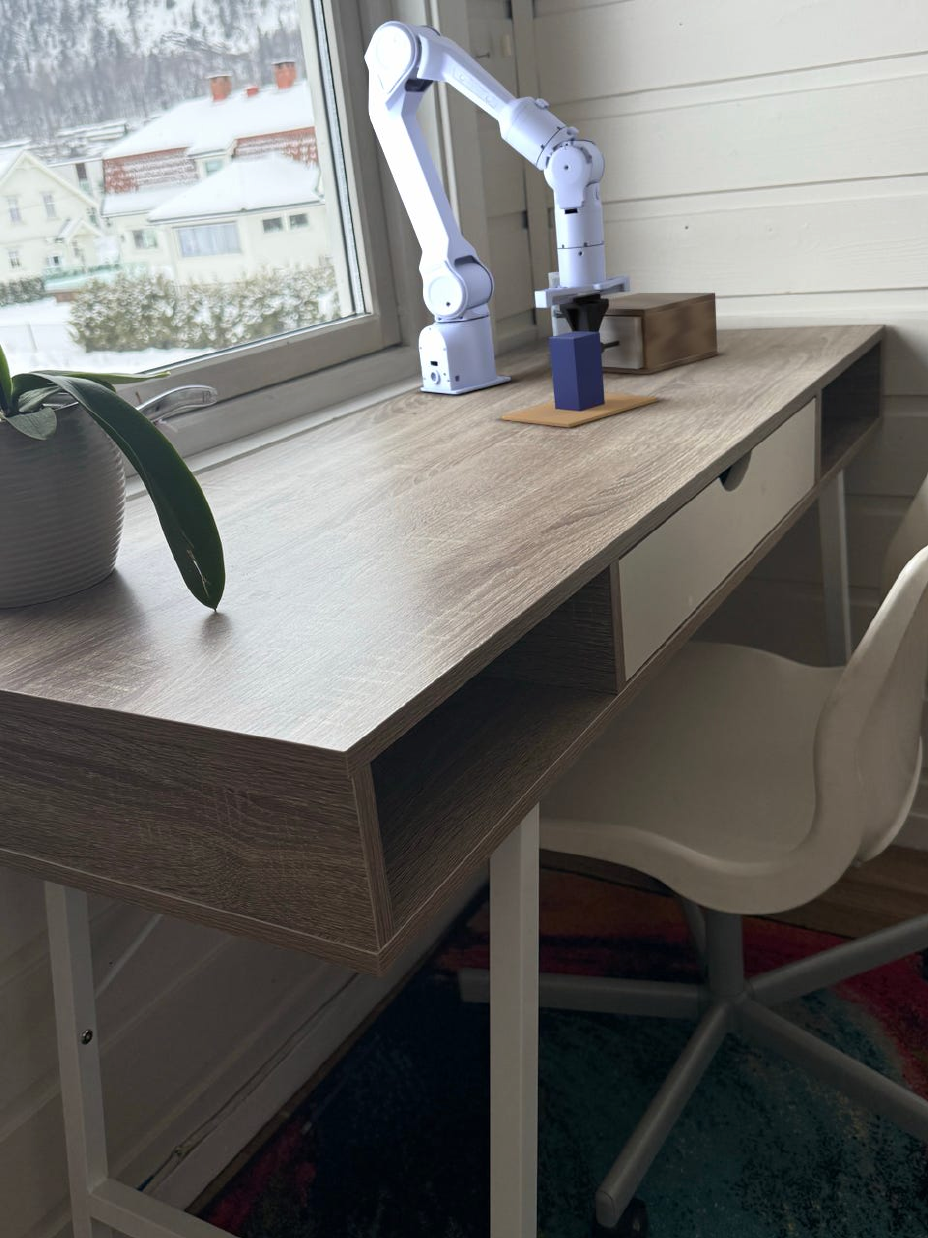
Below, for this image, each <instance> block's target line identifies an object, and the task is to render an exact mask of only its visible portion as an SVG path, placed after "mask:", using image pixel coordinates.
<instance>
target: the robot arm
mask: <svg viewBox="0 0 928 1238" xmlns="http://www.w3.org/2000/svg"><path fill="white" fill-rule="evenodd" d="M364 60H365V63H366V66H367V68H368V72H369V73H368V74H369V75H368V77H369V79H368V81H369V82H368V113H369V117H370V121H371V123H372V125H373V129H374V131H375V133H376V134H375V135H376V136H377V139H378V141H379V144H380V146H381V148H382V151H383V154H384V156H385V159H386V161H387V164H388V167H389V169H390V171H391V172H390V173H391V174H392V177H393V179H394V182H395V184H396V186H397V189H398V192H399V195H400V197H401V200H402V202H403V204H404V207H405V209H406V212H407V215H408V217H409V219H410V222H411V224H412V227H413V230H414V232H415V235H416V237H417V240H418V243H419V245H420V247H421V250H422V254H421V259H420V263H419V267H418V269H419V273H420V274H421V278H422V282H423V290H422V291H423V292H422V293H423V295H422V296H423V301H424V303H425V305H426V307H427V309H428V310H429V311H430V313H431V314H433V315H434V321H435V322H434V323H433V324H430V325H427V326H426V327H424V328H423V329H422V330H421V331H420V334H419V337H418V351H419V358H420V368H421V374H422V381H423V382H422V383H423V386H421V387H420V391H421V392H429V393H437V394H438V393H440V394H448V395H461V394H464V393H469V392H472V391H476V390H480V389H484V388H487V387H491V386H496V385H499V384H503V383H506V382H511V381H512V379H511V377H510V376H501V375H500V376H499V375H497V371H496V361H495V351H494V341H493V333H492V323H491V315H490V313H491V312H490V309H489V306H488V304H489V302H490V301H491V300H492V298H493V295H494V291H495V281H494V277H493V274H492V272H491V271H490V270H489V268H488V267H487V266H486V265H485V264H484V263H483V262H482V261H481V259H480V258H479V256H478V254H477V251H476V249H475V247H474V246H472V244H471V243H469V242H468V240H466V239H465V238H464V236H463V235H462V233H461V230H460V228H459V225H458V223H457V220H456V217H455V215H454V213H453V210H452V207H451V204H450V201H449V199H448V197H447V193H446V191H445V189H444V187H443V184H442V181H441V179H440V176H439V173H438V171H437V169H436V166H435V163H434V161H433V158H432V155H431V153H430V151H429V148H428V145H427V143H426V140H425V137H424V135H423V132H422V129H421V127H420V125H419V122H418V119H417V116H416V114H417V112H418V109H419V108H420V107H419V106H420V104H421V102H422V100H423V97H424V95H425V94H426V93H427V91H428V90H429V89H430V88H431V87H432V86H433V84H434V83H435V82H436V81H437V82H444V83H448V84H450V85H451V86H452V87H453V88H454V89H456V90H457V91H459V92H460V93H461V94H462V95H464V96H465V97H466V98H468V99H469V100H470V101H472V102H473V103H474V104H475V105H477V106H479V107H480V108H481V109H482V110H483V111H485V112H486V113H488V115H490V116H491V117H492V118H494V119H495V120H496V121H498V125H499V130H500V131H499V132H500V136H501V139H502V140H504V141H505V142H506V143H507V144H509V145H510V146H511V147H512V148H513V149H514V150H515V151H517V152H518V153H519V154H520V155H522V156H523V157H524V158H525V159H526V160H528V161H529V162H530V163H531V164H532V165H533V166H535V167H536V168H537V169H538V170H539V171H542V172H543V175H544V179H545V181H546V182H547V184H548V186H549V187H550V188H551V189H552V190H553V200H554V220H555V233H556V234H555V235H556V248H557V249H556V250H557V260H558V272H559V276H560V285H559V286H555V287H552V288H550V287H548V288H545V289H541V290H535V291H534V300H535V308H536V309H537V308H538V309H540V308H541V309H548V308H551V307H552V306H554V305H559V309H560V311H561V313H562V314H563V316H564V317H565V319H566V320H567V322H568V324H569V326H570V328H571V330H572V332H574V331H581V332H599V329H600V326H601V323H602V320H603V318H604V315H605V313H606V311H607V309H608V307H609V300H610V299H609V298H606V297H605V298H604V297H603V296H608V295H613V294H618V293H628V292H631V278H630V275H615V276H609V277H607V270H606V255H605V254H606V252H605V235H604V233H605V232H604V218H603V216H604V215H603V205H602V196H601V183H600V182H601V180H602V179H603V176H604V173H605V170H606V160H605V157H604V154H603V152H602V150H601V149H600V148H599V146H597V144H596V142H595V141H594V140H592V139H589V138H578V135H579V133H580V131H579V130H578V129H577V128H576V127H575V126H572V125H571V126H569V127H568V126H567V125H566V124H565V123H564V122H563V121H561V120H560V119H559V118H558V117H556V116H555V115H554V114H553V113H551V112H550V111H549V110H548V109H549V108H550V104H549V103H548V102H547V101H546V100H545V99H543V98H537V99H535V98H533V97H532V96H524V97H520V98H517V97H515V95H513V94H512V93H511V92H510V91H509V90H508V89H506V88H505V87H504V86H503V85H502V84H501V83H500V82H499V81H498V80H497V79H496V78H495V77H493V75H491V73H489V72H488V71H487V70H486V69H485V68H483V67H482V65H481V64H480V63H478V62H477V61H476V60H475V59H474V58H473V57H472V56H470V54H468V53H467V52H466V51H465V50H464V49H463V48H462V47H461V46H459V44H458V43H456V42H455V41H454V40H453V39H451V38H449V37H447V36H444V35H442V33H441V32H440V31H439V30H438V29H437V28H435V27H433V26H431V25H428V24H427V25H423V24H422V25H421V24H420V25H417V24H409V23H404V22H402V21H399V20H389V21H386V22H384V23H382V24H381V25H380V26H379V27H378V28H377V29H376V30H375V32H374V33H373V35H372V38H371V41H370V43H369V45H368V47H367V50H366V52H365V54H364ZM584 292H586V294H585V295H580V296H577V295H578V293H584ZM568 297H570V298H568ZM602 297H603V298H602Z"/></svg>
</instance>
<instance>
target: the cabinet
mask: <svg viewBox="0 0 928 1238" xmlns="http://www.w3.org/2000/svg"><path fill="white" fill-rule="evenodd" d="M716 303H717V302H716V292H637V293H633V294H632V293H631V294H628V295H623V296H619V297H614V298H610V299H609V307H608V309H607V311H606V313H605V315H631V316H640V317H641V324H642V341H643V358H644V367H643V368H639V369H633V368H617V367H602V370H603V372H605V373H606V372H609V373H621V374H623V373H624V374H638V375H651V374H654V373H658V372H661V371H665V370H668V369H673V368H677V367H680V366H682V365H683V366H684V365H687V364H690V363H694V362H698V361H701V360H704V359H708V358H711V357H716V356H718V335H717V334H718V333H717V332H718V330H717V304H716Z"/></svg>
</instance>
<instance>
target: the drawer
mask: <svg viewBox="0 0 928 1238" xmlns="http://www.w3.org/2000/svg"><path fill="white" fill-rule="evenodd" d="M566 323H567V333H570V332H572V330H571V328H570V326H569V324H568V322H567V320H566ZM599 332H600V342H601V356H602V367H617V368H633V369H639V368H643V367H644V358H643V341H642V324H641V317H640V316H631V315H604V318H603V320H602V323H601V326H600V329H599Z"/></svg>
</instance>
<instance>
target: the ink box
mask: <svg viewBox="0 0 928 1238" xmlns="http://www.w3.org/2000/svg"><path fill="white" fill-rule="evenodd" d="M547 275H548V285H549V286H548V288H552V287H555V286H559V285H560V276H559V271H551V272H548V273H547ZM585 294H587V292H584V293H578V295H577V296H580V295H585ZM568 298H570V297H568ZM550 312H551V325H552V326H551V327H552V337H553V336H557V335H561V334H565V333H567V323H566V319H565V317H564V316H563V314H562V313H561V311H560V309H559V305H554V306H552V307H550Z"/></svg>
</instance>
